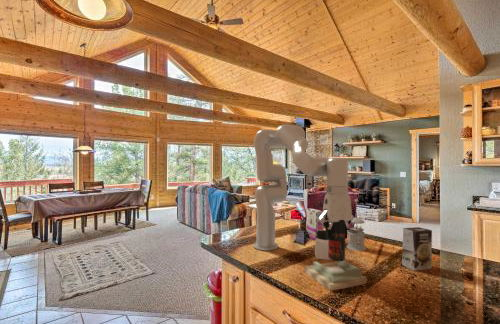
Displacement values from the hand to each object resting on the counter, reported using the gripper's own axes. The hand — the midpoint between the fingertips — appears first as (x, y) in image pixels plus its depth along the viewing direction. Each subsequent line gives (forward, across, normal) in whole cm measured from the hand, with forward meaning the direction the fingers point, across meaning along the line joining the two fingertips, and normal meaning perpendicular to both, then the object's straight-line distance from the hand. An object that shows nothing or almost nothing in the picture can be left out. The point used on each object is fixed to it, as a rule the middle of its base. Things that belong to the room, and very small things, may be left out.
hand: (336, 238), depth 95 cm
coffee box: (+16, +40, -2) cm, 43 cm away
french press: (+15, +33, +25) cm, 44 cm away
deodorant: (+8, 0, 0) cm, 8 cm away
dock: (+15, 0, +1) cm, 15 cm away
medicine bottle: (+15, +9, +20) cm, 27 cm away
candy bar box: (+15, +22, +46) cm, 53 cm away
